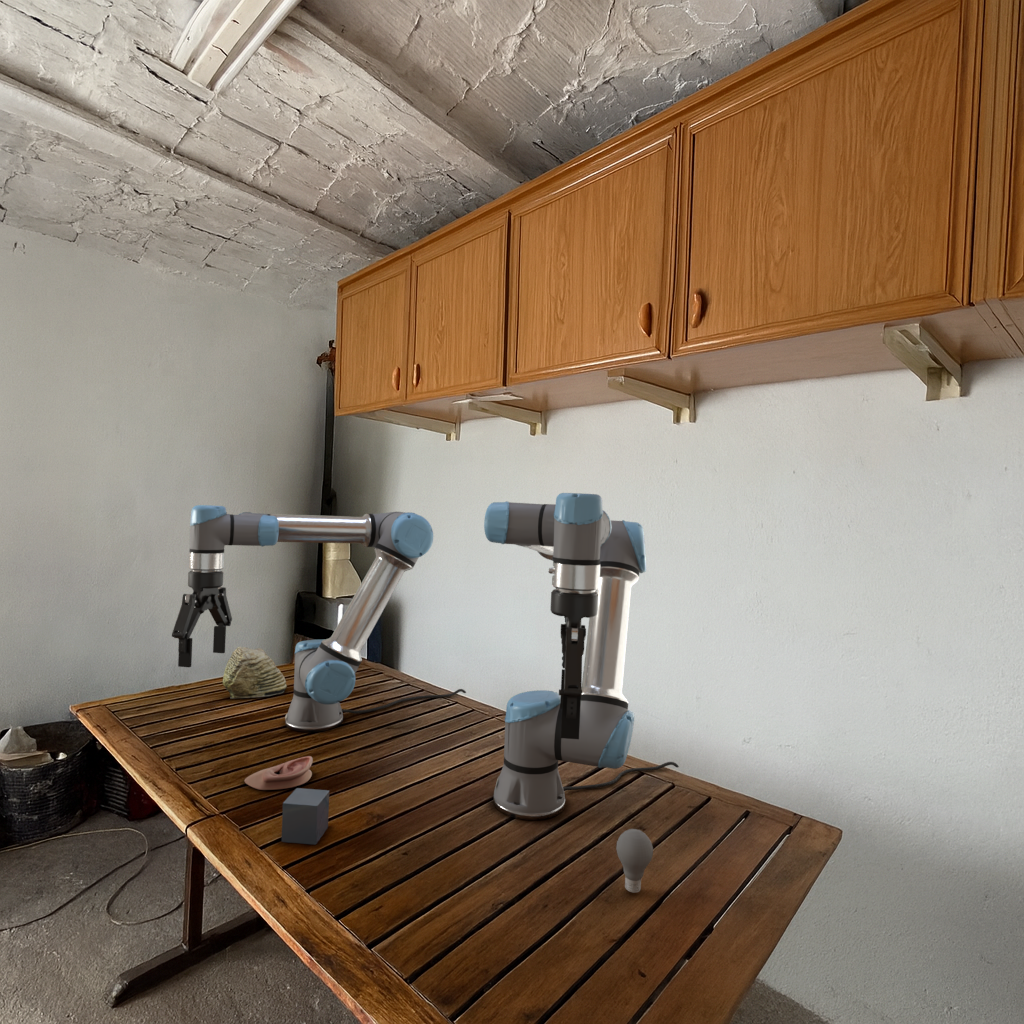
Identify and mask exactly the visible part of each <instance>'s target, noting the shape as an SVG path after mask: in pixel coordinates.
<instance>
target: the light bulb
mask: <svg viewBox="0 0 1024 1024" xmlns="http://www.w3.org/2000/svg"><path fill="white" fill-rule="evenodd" d="M615 849H616V854H617V857H618V859H619V861H620V863H621V865H622V867H623V873H624V874H623V875H624V876H625V878H624V888H625V890H627V891H628V892H630V893H634V894H635V893H639V892H640V891H641V889H642V887H641V886H642V879H643V877H644V875H645V871H646V868H647V867H648V866H649V864H650V863H651V861H652V859H653V855H654V847H653V843H652V841H651V838H649V836H648V835H647V834H646V833H645V832H643V831H642V830H641V829H636V828H629V829H627V830H625V831H623V832H622V833H621V834H620V835H619V837H618V839H617V841H616V847H615Z"/></svg>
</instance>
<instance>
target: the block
mask: <svg viewBox="0 0 1024 1024" xmlns="http://www.w3.org/2000/svg"><path fill="white" fill-rule="evenodd" d="M329 809H330V789H329V790H327V789H316V788H315V789H314V788H301V787H296V788H295V789H294V790H293V791H292V792H291V794H290V795H289V796H288V797H287V798H286V799H285V800H284V801H283V802H282V816H281V818H282V819H281V842H282V843H288V844H289V843H291V844H302V845H312V846H313V845H314V846H316V845H317V844H318V843H319V841H320V840H321V838H322V837H323V835H324V834H325V832H326V831H327V830H328V828H329V813H330V812H329V811H330V810H329Z"/></svg>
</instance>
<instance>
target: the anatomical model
mask: <svg viewBox="0 0 1024 1024" xmlns="http://www.w3.org/2000/svg"><path fill="white" fill-rule="evenodd" d="M313 759H314V758H313V757H312V756H311V755H307V756H301V757H299V758H295V759H292V760H291V759H290V760H288V761H286V762H283V763H280V764H277V765H274V766H271V767H267V768H264V769H261V770H258V771H256V772H254V773H252V774H250V775H248V776H247V777H245V778H244V783H245V784H246V785H248V786H249V787H251V788H253V789H256V790H260V791H275V790H283V789H290V788H295V787H297V786H301V785H304V784H305V783H307V782H308V781H309V780H310V779H311V777H312V776H313V772H312V771H311V767H312V765H313V761H314V760H313Z"/></svg>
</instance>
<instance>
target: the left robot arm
mask: <svg viewBox="0 0 1024 1024" xmlns="http://www.w3.org/2000/svg"><path fill="white" fill-rule="evenodd" d="M190 511H191V512H190V523H189V551H188V552H189V555H188V569H189V572H188V574H187V586H188V587H189V588H191V589H192V592H191V593H183V594H182V597H181V598H182V600H181V605H180V608H179V611H178V614H177V617H176V621H175V623H174V625H173V629H172V632H171V637H172V638H174V639H178V648H177V652H178V659H177V661H178V662H177V667H179V668H191V667H192V663H193V662H192V660H193V637H191V636H192V634H193V632H194V629H195V628H196V625H197V623H198V621H199V620H200V617H201V615H202V614H204V613H205V612H206V611H207V610H208V611H209V614H210V615H211V618H212V619H213V621H214V623H215V624H216V625H214V626H213V641H212V643H213V644H212V653H213V654H215V653H216V654H226V639H227V637H226V636H227V627H230V626H232V621H233V616H232V612H231V609H230V604H229V602H228V597H227V587H226V586H223V585H224V572H223V569H224V568H225V546H244V547H245V546H247V547H249V546H250V547H252V546H253V547H262V548H263V547H268V546H269V547H271V546H275V545H276V544H278V543H309V544H310V543H313V544H314V543H315V544H316V543H317V544H318V543H319V544H361V546H363V547H364V548H374V553H375V558H374V560H373V562H372V564H371V565H370V567H369V569H368V570H367V572H366V574H365V576H364V578H363V580H362V581H361V583H360V585H359V586H358V588H357V590H356V592H355V593H354V596H353V597H352V599H351V601H350V603H349V604H348V606H347V608H346V609H345V611H344V613H343V615H342V617H341V618H340V621H339V622H338V624H337V625H336V627H335V629H334V631H333V633H332V635H331V636H330V637H329V638H326V639H307V640H302V641H299V642H297V643H296V644H295V648H294V649H295V650H294V672H293V673H294V674H293V675H294V676H293V678H294V679H293V695H292V696H293V697H292V699H291V702H290V704H289V708H288V711H287V713H286V714H285V716H284V719H285V726H286V728H287V729H289V730H291V731H294V732H295V731H296V732H301V733H316V732H325V731H329V730H332V729H335V728H337V727H339V726H340V725H342V723H343V722H344V714H343V713H347V714H357V715H358V714H366V713H371V712H376V711H380V710H383V709H386V708H390V707H392V706H394V705H397V704H400V703H403V702H408V701H409V702H410V701H415V700H423V699H439V698H450V697H453V696H455V695H458V693H462V694H467V691H466V690H465V689H463V688H458V689H457V690H455V691H453V692H451V693H447V694H427V695H419V696H418V695H417V696H410V697H405V698H401V699H396V700H394V701H392V702H389V703H387V704H384V705H380V706H376V707H372V708H367V709H359V710H353V709H347V708H342V706H341V702H343V701H344V700H346V699H347V698H348V697H349V696H351V693H352V692H353V690H354V689H355V686H356V673H357V671H358V670H359V668H360V666H361V663H362V662H363V659H362V655H361V652H362V650H363V648H364V646H365V644H366V643H367V641H368V639H369V637H370V636H371V634H372V632H373V630H374V628H375V626H376V624H377V623H378V621H379V619H380V617H381V616H382V613H383V612H384V609H385V608H386V606H387V605H388V603H389V601H390V599H391V597H392V595H393V594H394V592H395V590H396V588H397V586H398V585H399V582H400V581H401V580H402V577H403V575H404V574H405V572H407V571H410V570H413V569H414V567H415V565H416V563H417V561H418V560H419V558H422V557H423V556H425V555H426V554H427V553H428V552H429V551H430V549H431V548H432V546H433V543H434V531H433V528H432V525H431V524H430V522H429V521H428V519H426V518H425V517H424V516H422V515H419V514H417V513H415V512H411V511H410V512H404V511H390V512H382V513H380V512H379V513H364V514H363V515H362V516H350V515H349V516H348V515H347V516H346V515H320V514H319V515H318V514H317V515H316V514H291V513H290V514H285V513H262V512H261V513H260V512H256V513H255V512H249V511H245V512H243V511H242V512H240V513H238V514H230V513H228V512H227V507H225V506H223V505H213V504H212V505H209V504H197V505H194V506H193V507H192V508H191V510H190Z"/></svg>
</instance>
